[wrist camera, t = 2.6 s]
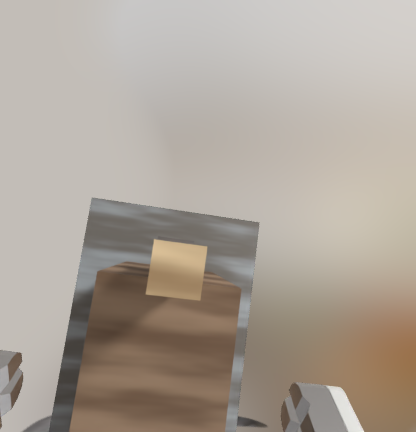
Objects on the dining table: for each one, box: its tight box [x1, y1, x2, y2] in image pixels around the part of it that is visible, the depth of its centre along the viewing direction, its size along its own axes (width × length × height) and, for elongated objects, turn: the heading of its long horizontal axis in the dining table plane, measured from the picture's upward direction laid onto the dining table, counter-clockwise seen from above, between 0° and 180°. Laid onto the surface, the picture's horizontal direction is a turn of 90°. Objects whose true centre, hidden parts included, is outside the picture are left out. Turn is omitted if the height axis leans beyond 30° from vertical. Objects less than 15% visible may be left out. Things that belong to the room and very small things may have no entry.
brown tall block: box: [49, 198, 259, 432], centre depth 33 cm, size 19×24×34 cm
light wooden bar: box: [146, 236, 207, 301], centre depth 24 cm, size 16×4×4 cm, turn 8°
